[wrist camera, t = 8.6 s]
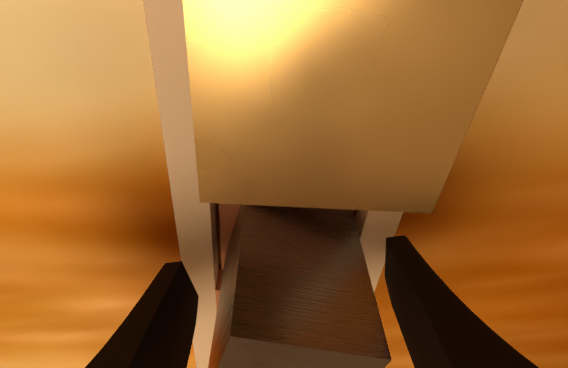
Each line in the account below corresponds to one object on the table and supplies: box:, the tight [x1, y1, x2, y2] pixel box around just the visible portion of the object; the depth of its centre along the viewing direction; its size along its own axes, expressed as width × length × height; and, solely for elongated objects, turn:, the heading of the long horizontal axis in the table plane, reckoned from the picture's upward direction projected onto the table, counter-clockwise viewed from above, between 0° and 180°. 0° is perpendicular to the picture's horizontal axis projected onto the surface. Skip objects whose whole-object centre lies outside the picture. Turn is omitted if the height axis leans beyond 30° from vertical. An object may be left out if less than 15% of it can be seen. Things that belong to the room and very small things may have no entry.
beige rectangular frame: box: [143, 0, 403, 368], centre depth 14 cm, size 8×26×1 cm, turn 176°
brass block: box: [182, 0, 523, 213], centre depth 7 cm, size 4×4×6 cm
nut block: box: [208, 204, 391, 368], centre depth 12 cm, size 4×4×6 cm
